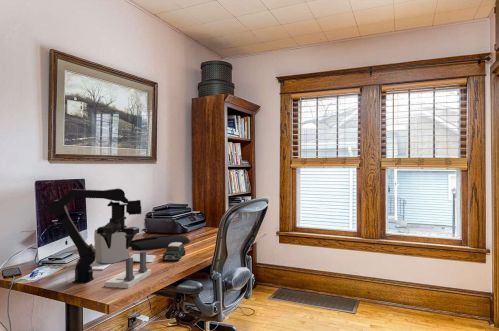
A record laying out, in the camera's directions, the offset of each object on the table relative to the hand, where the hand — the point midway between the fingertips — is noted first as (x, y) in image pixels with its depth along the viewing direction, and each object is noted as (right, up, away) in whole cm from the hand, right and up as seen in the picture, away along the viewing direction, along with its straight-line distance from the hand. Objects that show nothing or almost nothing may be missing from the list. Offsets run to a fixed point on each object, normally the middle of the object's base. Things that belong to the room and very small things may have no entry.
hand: (118, 248), depth 154 cm
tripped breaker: (+9, -10, -11) cm, 18 cm away
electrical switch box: (-16, -14, +29) cm, 36 cm away
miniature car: (+19, -14, +33) cm, 41 cm away
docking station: (+1, -15, +68) cm, 70 cm away
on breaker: (+11, -11, +1) cm, 16 cm away
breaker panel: (+7, -13, -4) cm, 15 cm away
